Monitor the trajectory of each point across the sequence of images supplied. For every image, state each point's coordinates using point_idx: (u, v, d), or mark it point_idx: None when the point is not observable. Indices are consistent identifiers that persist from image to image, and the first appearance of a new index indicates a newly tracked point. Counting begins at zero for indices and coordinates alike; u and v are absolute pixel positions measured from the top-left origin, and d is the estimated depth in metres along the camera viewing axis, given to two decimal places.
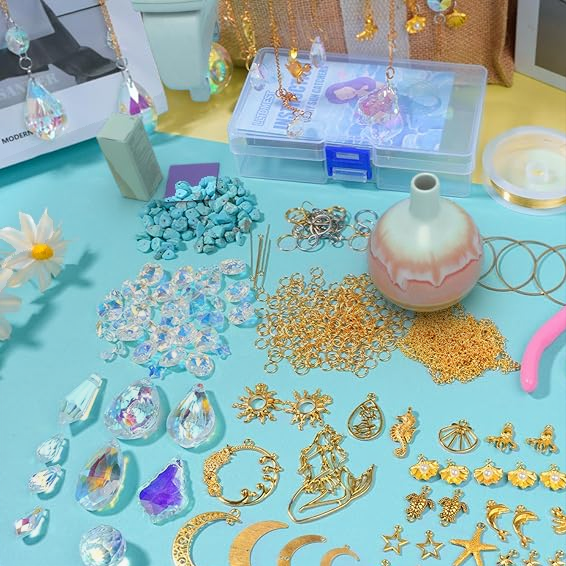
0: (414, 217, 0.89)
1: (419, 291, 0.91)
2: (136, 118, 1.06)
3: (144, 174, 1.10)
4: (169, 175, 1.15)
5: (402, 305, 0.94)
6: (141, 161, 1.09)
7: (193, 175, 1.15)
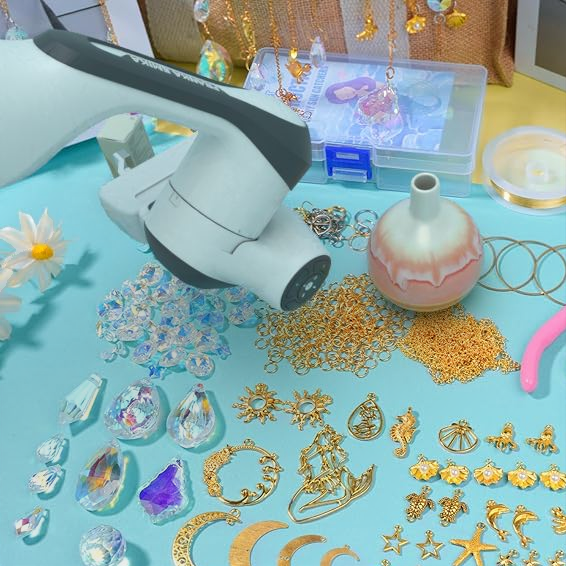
0: (414, 217, 0.89)
1: (419, 291, 0.91)
2: (136, 118, 1.06)
3: None
4: None
5: (402, 305, 0.94)
6: (141, 161, 1.09)
7: None
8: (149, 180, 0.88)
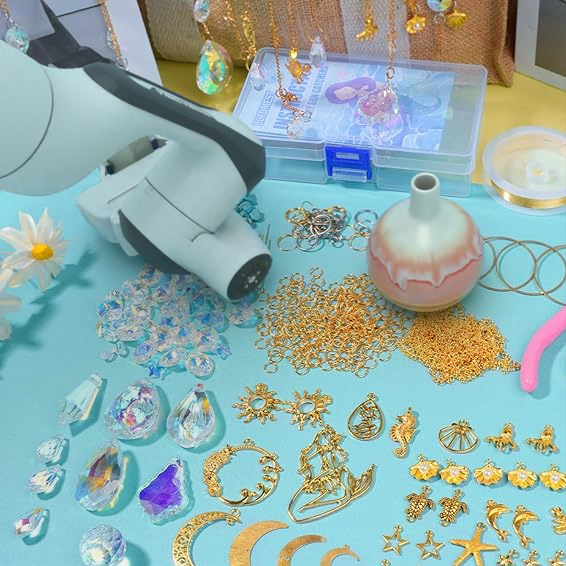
0: (414, 217, 0.89)
1: (419, 291, 0.91)
2: None
3: None
4: None
5: (402, 305, 0.94)
6: None
7: None
8: (120, 189, 1.04)
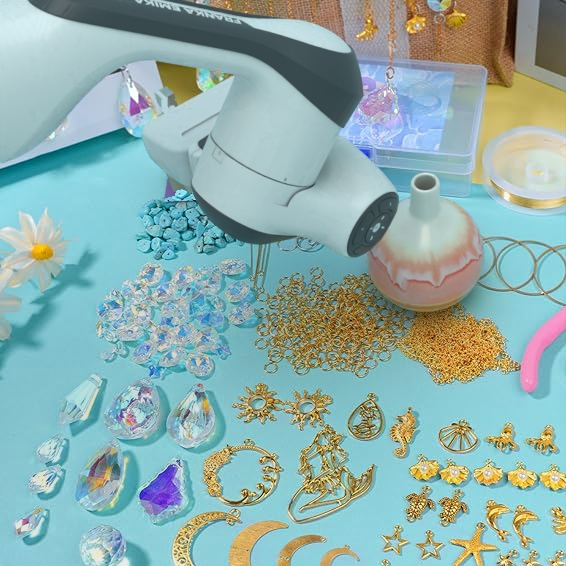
0: (414, 217, 0.89)
1: (419, 291, 0.91)
2: None
3: None
4: None
5: (402, 305, 0.94)
6: None
7: None
8: (197, 118, 0.81)
